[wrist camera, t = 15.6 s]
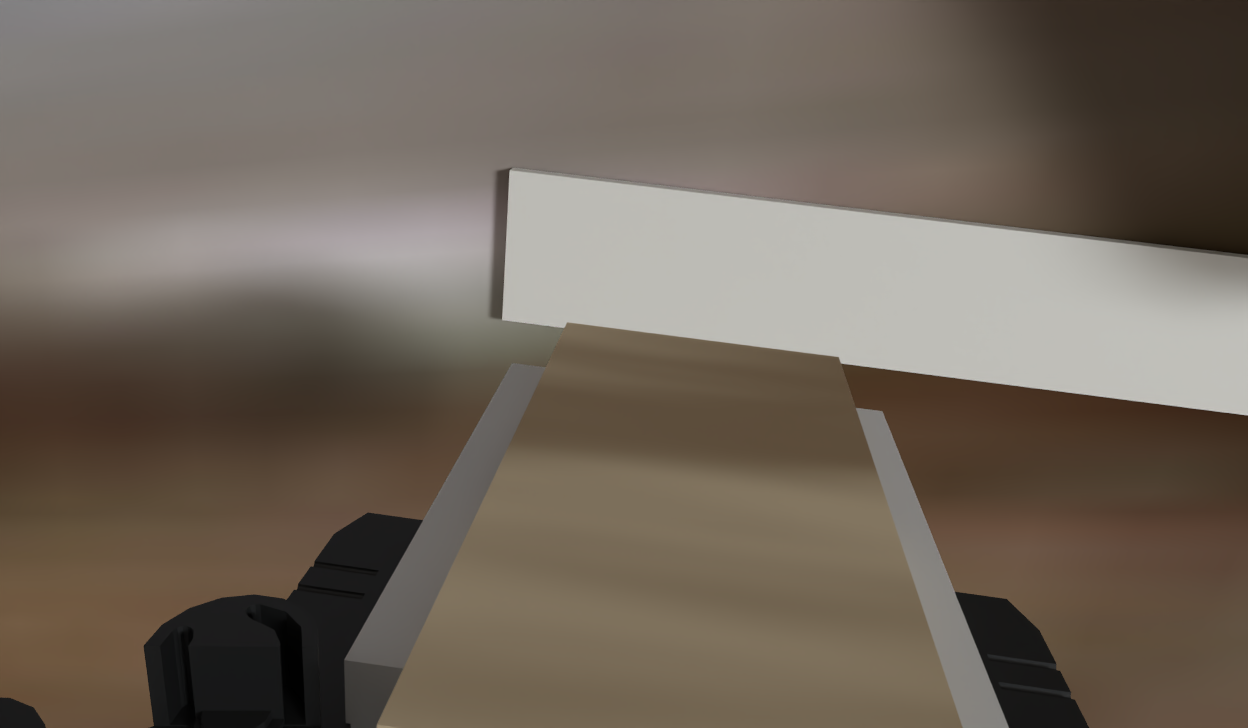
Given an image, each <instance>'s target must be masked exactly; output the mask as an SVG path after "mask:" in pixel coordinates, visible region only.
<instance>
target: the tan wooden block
mask: <svg viewBox="0 0 1248 728" xmlns="http://www.w3.org/2000/svg"><path fill="white" fill-rule="evenodd" d="M377 728H963V727H962V724H961V721H960V718H959V715H958V712H957V709H956V706H955V703H954V700H953V697H952V694H951V691H950V688H949V685H948V682H947V679H946V676H945V673H944V670H943V667H942V664H941V661H940V658H939V655H938V652H937V649H936V646H935V643H934V640H933V637H932V635H931V632H930V629H929V626H928V623H927V620H926V617H925V614H924V611H923V608H922V605H921V602H920V599H919V596H918V593H917V590H916V587H915V584H914V581H913V578H912V575H911V572H910V569H909V566H908V563H907V560H906V557H905V554H904V551H903V548H902V545H901V542H900V539H899V536H898V533H897V530H896V527H895V524H894V521H893V518H892V515H891V512H890V509H889V506H888V503H887V500H886V497H885V494H884V491H883V488H882V485H881V482H880V479H879V476H878V473H877V470H876V467H875V464H874V461H873V458H872V455H871V452H870V449H869V446H868V443H867V440H866V437H865V434H864V431H863V428H862V425H861V422H860V419H859V416H858V413H857V410H856V407H855V404H854V401H853V398H852V395H851V392H850V389H849V386H848V383H847V380H846V377H845V374H844V371H843V368H842V365H841V362H840V359H839V357H835V356H827V355H819V354H811V353H803V352H796V351H788V350H780V349H772V348H764V347H756V346H749V345H741V344H733V343H725V342H717V341H710V340H702V339H694V338H686V337H678V336H670V335H663V334H655V333H647V332H639V331H631V330H624V329H616V328H608V327H600V326H592V325H584V324H577V323H569V322H567V324H566V326H565V328H564V330H563V332H562V334H561V336H560V339H559V341H558V343H557V345H556V347H555V349H554V351H553V353H552V355H551V358H550V360H549V362H548V364H547V366H546V368H545V370H544V372H543V374H542V377H541V379H540V381H539V383H538V385H537V387H536V389H535V391H534V393H533V396H532V398H531V400H530V402H529V404H528V406H527V408H526V410H525V412H524V415H523V417H522V419H521V421H520V423H519V425H518V427H517V429H516V431H515V434H514V436H513V438H512V440H511V442H510V444H509V446H508V448H507V451H506V453H505V455H504V457H503V459H502V461H501V463H500V465H499V467H498V470H497V472H496V474H495V476H494V478H493V480H492V482H491V484H490V486H489V489H488V491H487V493H486V495H485V497H484V499H483V501H482V503H481V505H480V508H479V510H478V512H477V514H476V516H475V518H474V520H473V522H472V524H471V527H470V529H469V531H468V533H467V535H466V537H465V539H464V541H463V543H462V546H461V548H460V550H459V552H458V554H457V556H456V558H455V560H454V562H453V565H452V567H451V569H450V571H449V573H448V575H447V577H446V579H445V581H444V584H443V586H442V588H441V590H440V592H439V594H438V596H437V598H436V600H435V603H434V605H433V607H432V609H431V611H430V613H429V615H428V617H427V620H426V622H425V624H424V626H423V628H422V630H421V632H420V634H419V636H418V639H417V641H416V643H415V645H414V647H413V649H412V651H411V653H410V655H409V658H408V660H407V662H406V664H405V666H404V668H403V670H402V672H401V674H400V677H399V679H398V681H397V683H396V685H395V687H394V689H393V691H392V693H391V696H390V698H389V700H388V702H387V704H386V706H385V708H384V710H383V712H382V715H381V717H380V719H379V721H378V723H377Z"/></svg>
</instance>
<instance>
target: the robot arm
mask: <svg viewBox="0 0 1248 728" xmlns="http://www.w3.org/2000/svg"><path fill="white" fill-rule="evenodd" d="M544 370H545V367H537V366H530V365H522V364H514V363H512V364H511V366H510V368H509V370H508V371H507V373H506V375H505V377H504V378H503V380H502V382H501V384H500V386H499V387H498V389H497V391H496V393H495V394H494V396H493V398H492V400H491V401H490V403H489V405H488V407H487V409H486V410H485V412H484V414H483V416H482V417H481V419H480V421H479V423H478V424H477V426H476V428H475V430H474V431H473V433H472V435H471V437H470V439H469V440H468V442H467V444H466V446H465V447H464V449H463V451H462V453H461V454H460V456H459V458H458V460H457V461H456V463H455V465H454V467H453V469H452V470H451V472H450V474H449V476H448V477H447V479H446V481H445V483H444V484H443V486H442V488H441V490H440V492H439V493H438V495H437V497H436V499H435V500H434V502H433V504H432V506H431V507H430V509H429V511H428V513H427V514H426V516H425V518H424V520H416V519H409V518H402V517H395V516H388V515H381V514H374V513H367V514H365V515H363V516H362V517H360V518H359V519H357V520H355V521H354V522H352V523H351V524H349V525H347V526H346V527H344V528H343V529H341V530H340V531H338V532H336V533H335V534H334V535H333V536H332V538H331V539H330V541H329V542H328V543H327V545H326V546H325V547H324V549H323V550H322V552H321V553H320V554H319V556H318V557H317V559H316V560H315V564H314V567H310V568H309V570H308V571H307V573H306V574H305V575H304V577H303V578H302V579H301V581H300V582H299V584H298V589H297V590H294V591H293V592H292V593H291V595H290V596H289V598H288V599H287V600H285V599H282V598H275V597H268V596H261V595H245V596H235V597H225V598H220V599H216V600H213V601H210V602H207V603H204V604H201V605H198V606H195V607H192V608H189V609H187V610H186V611H184V612H182V613H181V614H179V615H177V616H176V617H174V618H172V619H171V620H169V621H168V622H166V623H164V624H163V625H161V627H160V628H159V629H158V630H157V631H156V632H155V633H154V635H153V636H152V637H151V638H150V639H149V640H148V641H147V643H146V644H145V645H144V652H145V660H146V668H147V676H148V683H149V691H150V699H151V706H152V714H153V722H154V726H153V727H150V728H377V723H378V721H379V719H380V717H381V715H382V712H383V710H384V708H385V706H386V704H387V702H388V700H389V698H390V696H391V693H392V691H393V689H394V687H395V685H396V683H397V681H398V679H399V677H400V674H401V672H402V670H403V668H404V666H405V664H406V662H407V660H408V658H409V655H410V653H411V651H412V649H413V647H414V645H415V643H416V641H417V639H418V636H419V634H420V632H421V630H422V628H423V626H424V624H425V622H426V620H427V617H428V615H429V613H430V611H431V609H432V607H433V605H434V603H435V600H436V598H437V596H438V594H439V592H440V590H441V588H442V586H443V584H444V581H445V579H446V577H447V575H448V573H449V571H450V569H451V567H452V565H453V562H454V560H455V558H456V556H457V554H458V552H459V550H460V548H461V546H462V543H463V541H464V539H465V537H466V535H467V533H468V531H469V529H470V527H471V524H472V522H473V520H474V518H475V516H476V514H477V512H478V510H479V508H480V505H481V503H482V501H483V499H484V497H485V495H486V493H487V491H488V489H489V486H490V484H491V482H492V480H493V478H494V476H495V474H496V472H497V470H498V467H499V465H500V463H501V461H502V459H503V457H504V455H505V453H506V451H507V448H508V446H509V444H510V442H511V440H512V438H513V436H514V434H515V431H516V429H517V427H518V425H519V423H520V421H521V419H522V417H523V415H524V412H525V410H526V408H527V406H528V404H529V402H530V400H531V398H532V396H533V393H534V391H535V389H536V387H537V385H538V383H539V381H540V379H541V377H542V374H543V372H544ZM856 410H857V413H858V416H859V419H860V422H861V425H862V428H863V431H864V434H865V437H866V440H867V443H868V446H869V449H870V452H871V455H872V458H873V461H874V464H875V467H876V470H877V473H878V476H879V479H880V482H881V485H882V488H883V491H884V494H885V497H886V500H887V503H888V506H889V509H890V512H891V515H892V518H893V521H894V524H895V527H896V530H897V533H898V536H899V539H900V542H901V545H902V548H903V551H904V554H905V557H906V560H907V563H908V566H909V569H910V572H911V575H912V578H913V581H914V584H915V587H916V590H917V593H918V596H919V599H920V602H921V605H922V608H923V611H924V614H925V617H926V620H927V623H928V626H929V629H930V632H931V635H932V637H933V640H934V643H935V646H936V649H937V652H938V655H939V658H940V661H941V664H942V667H943V670H944V673H945V676H946V679H947V682H948V685H949V688H950V691H951V694H952V697H953V700H954V703H955V706H956V709H957V712H958V715H959V718H960V721H961V724H962V727H963V728H1089V727H1088V725H1087V723H1086V721H1085V719H1084V717H1083V715H1082V713H1081V711H1080V709H1079V707H1078V705H1077V703H1076V701H1075V700H1073V699H1071V696H1070V695H1071V692H1070V690H1069V688H1068V686H1067V684H1066V682H1065V680H1064V678H1063V676H1062V674H1061V672H1060V671H1058V670H1056V662H1055V660H1054V658H1053V656H1052V654H1051V652H1050V650H1049V648H1048V646H1047V644H1046V643H1045V641H1044V639H1043V637H1042V635H1041V633H1040V631H1039V630H1038V629H1037V628H1036V627H1035V626H1034V625H1033V624H1032V623H1031V622H1030V621H1029V620H1028V619H1027V618H1026V617H1025V616H1024V615H1023V614H1022V613H1021V612H1020V611H1019V610H1017V609H1016V608H1015V607H1014V606H1013V605H1012V604H1011V603H1010V602H1009V601H1008V600H1007V599H1002V598H995V597H988V596H981V595H974V594H967V593H960V592H954V589H953V587H952V584H951V582H950V579H949V577H948V574H947V572H946V569H945V567H944V564H943V562H942V559H941V557H940V554H939V552H938V549H937V547H936V544H935V542H934V539H933V537H932V534H931V532H930V529H929V527H928V524H927V522H926V519H925V517H924V514H923V512H922V509H921V507H920V504H919V502H918V499H917V497H916V494H915V492H914V489H913V487H912V484H911V482H910V479H909V477H908V474H907V472H906V469H905V467H904V464H903V462H902V459H901V457H900V454H899V452H898V449H897V447H896V444H895V442H894V439H893V437H892V434H891V432H890V429H889V427H888V424H887V422H886V419H885V417H884V414H883V412H882V411H875V410H868V409H860V408H856ZM0 728H46V727H45V724H44V722H43V721H42V719H41V718H40V716H39V715H38V713H37V712H36V710H35V709H34V708H33V707H31V706H28V705H26V704H24V703H21V702H19V701H16V700H14V699H11V698H0Z"/></svg>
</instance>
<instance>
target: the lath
mask: <svg viewBox="0 0 1248 728" xmlns="http://www.w3.org/2000/svg"><path fill="white" fill-rule="evenodd" d="M502 320H506V321H514V322H521V323H529V324H537V325H545V326H553V327H561V328H565V326H566V324H567V322H569V323H577V324H584V325H592V326H600V327H608V328H616V329H624V330H631V331H639V332H647V333H655V334H663V335H670V336H678V337H686V338H694V339H702V340H710V341H717V342H725V343H733V344H741V345H749V346H756V347H764V348H772V349H780V350H788V351H796V352H803V353H811V354H819V355H827V356H835V357H839V359H840V362H841V363H842V364H850V365H858V366H866V367H873V368H881V369H889V370H897V371H905V372H913V373H920V374H928V375H936V376H944V377H952V378H960V379H967V380H975V381H983V382H991V383H999V384H1006V385H1014V386H1022V387H1030V388H1038V389H1046V390H1053V391H1061V392H1069V393H1077V394H1085V395H1092V396H1100V397H1108V398H1116V399H1124V400H1132V401H1139V402H1147V403H1155V404H1163V405H1171V406H1179V407H1186V408H1194V409H1202V410H1210V411H1218V412H1225V413H1233V414H1241V415H1248V255H1244V254H1236V253H1228V252H1219V251H1211V250H1202V249H1194V248H1186V247H1177V246H1169V245H1160V244H1152V243H1143V242H1135V241H1127V240H1118V239H1110V238H1101V237H1093V236H1085V235H1076V234H1068V233H1059V232H1051V231H1043V230H1034V229H1026V228H1017V227H1009V226H1001V225H992V224H984V223H975V222H967V221H959V220H950V219H942V218H933V217H925V216H917V215H908V214H900V213H891V212H883V211H874V210H866V209H858V208H849V207H841V206H832V205H824V204H816V203H807V202H799V201H790V200H782V199H774V198H765V197H757V196H748V195H740V194H732V193H723V192H715V191H706V190H698V189H690V188H681V187H673V186H664V185H656V184H648V183H639V182H631V181H622V180H614V179H605V178H597V177H589V176H580V175H572V174H563V173H555V172H547V171H538V170H530V169H521V168H512V169H511V170H510V173H509V193H508V213H507V233H506V253H505V274H504V294H503V314H502Z"/></svg>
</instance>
